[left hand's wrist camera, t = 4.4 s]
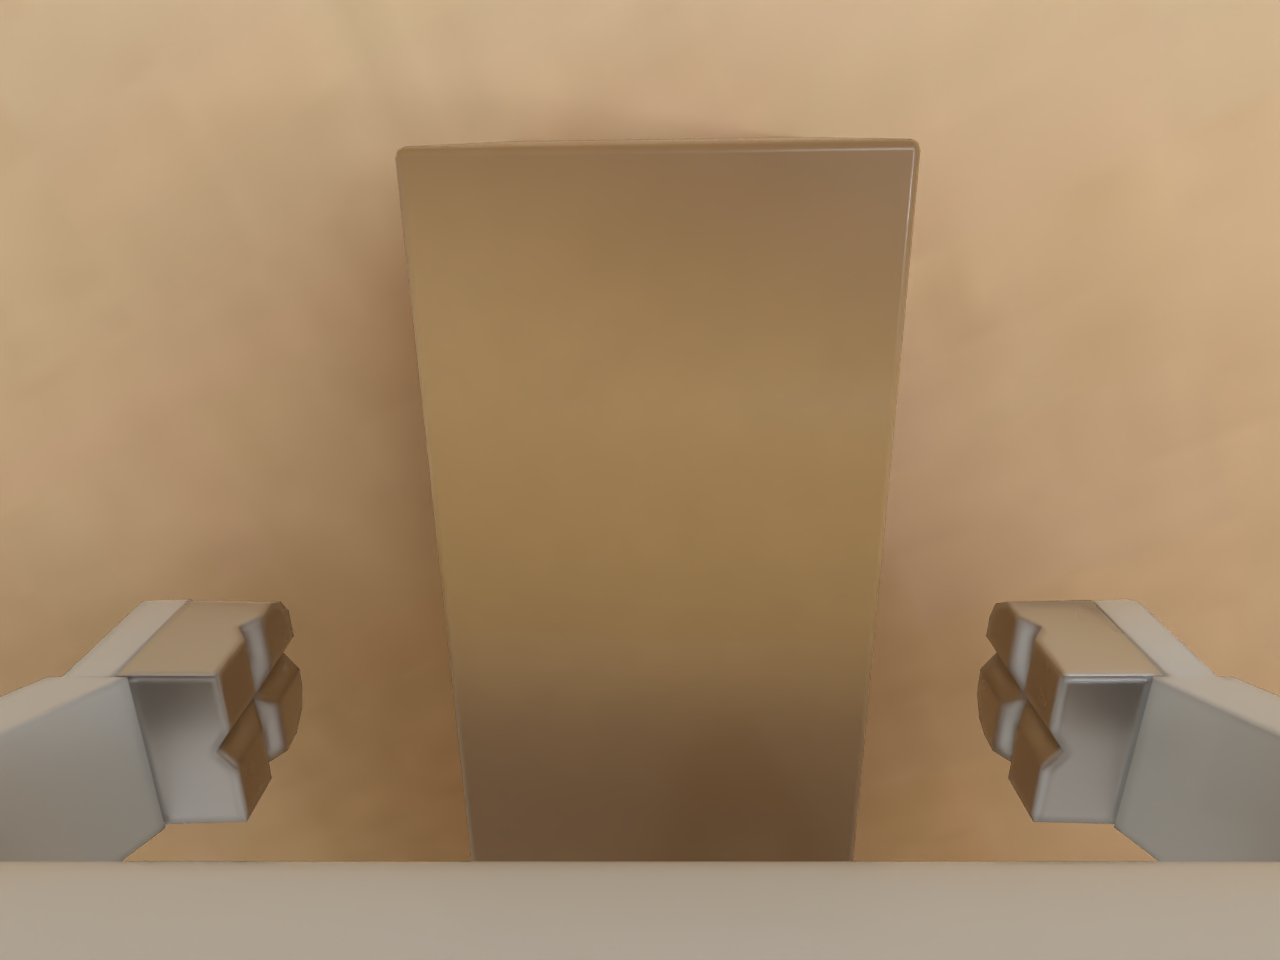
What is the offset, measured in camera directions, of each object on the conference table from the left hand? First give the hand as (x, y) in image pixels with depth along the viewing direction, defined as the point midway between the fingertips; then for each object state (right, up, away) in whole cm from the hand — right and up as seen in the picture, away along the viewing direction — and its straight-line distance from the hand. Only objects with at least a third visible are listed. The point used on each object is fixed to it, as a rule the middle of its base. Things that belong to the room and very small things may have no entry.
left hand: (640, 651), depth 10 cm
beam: (+1, -16, +12) cm, 20 cm away
